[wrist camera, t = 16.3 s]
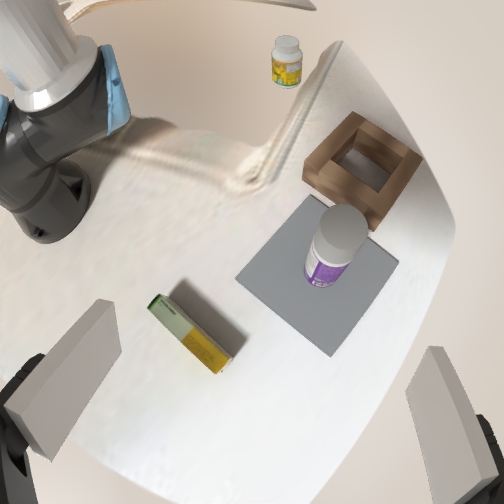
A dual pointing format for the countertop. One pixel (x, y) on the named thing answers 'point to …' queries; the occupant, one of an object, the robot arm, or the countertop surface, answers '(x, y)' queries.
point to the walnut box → (347, 185)
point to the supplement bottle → (286, 62)
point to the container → (334, 244)
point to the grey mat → (306, 296)
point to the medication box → (190, 334)
